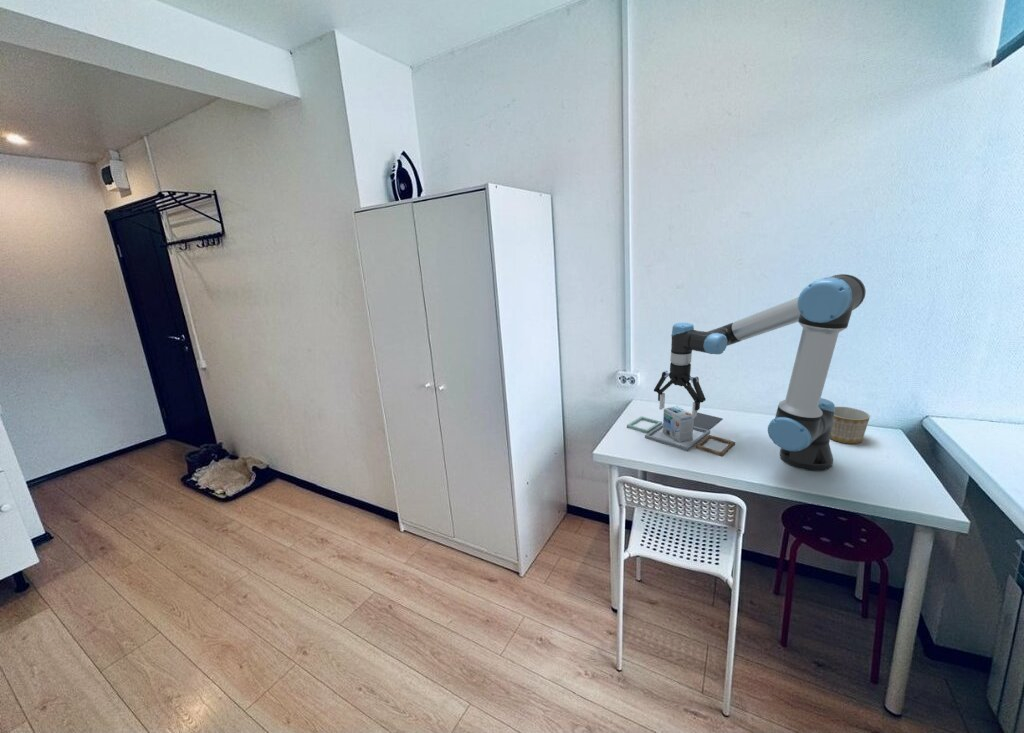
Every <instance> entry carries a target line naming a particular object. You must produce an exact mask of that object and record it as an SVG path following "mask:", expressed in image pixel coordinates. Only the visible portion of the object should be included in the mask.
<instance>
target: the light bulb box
mask: <svg viewBox="0 0 1024 733" xmlns="http://www.w3.org/2000/svg"><path fill="white" fill-rule="evenodd" d="M662 424H663V428H662V433H664V434H666V435H667V436H668V437H670V438H672V439H674V441H676V442H678V443H682V442H686V441H690V440H694V439H693V436H694V430H693V424H694V418H692V412H689V411H687V410H685V409H684V408H681V407H679V406H678V405H677V406H676V405H675V406H671V407H667V408H663V421H662Z"/></svg>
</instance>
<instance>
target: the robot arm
mask: <svg viewBox="0 0 1024 733" xmlns="http://www.w3.org/2000/svg"><path fill="white" fill-rule="evenodd" d="M865 286H866V285H864V283H863V282H862V280H861V279H859V278H858V277H856V276H854V275H851V274H844V273H841V274H835V275H832V276H828V277H822V278H819V279H816V280H813V281H812V282H811V283H809V284H808V285H806V287H804V288H803V289H802V291H801V292H800V294H798V295H799V296H797V297H795V298H793V299H790V300H788V301H785V302H782V303H779V304H777V305H775V306H772V307H769V308H767V309H764V310H761V311H759V312H756V313H754V314H751V315H749V316H747V317H744V318H741V319H739V320H736V321H734V322H731V323H728V324H726V325H723V326H720V327H718V328H714V329H712V330H709V331H705V330H704V331H703V330H702V331H701V330H696V329H695V328H694V324H693V323H690V322H677V323H674V324H673V325H672V329H671V334H670V336H671V349H670V361H669V362H670V364H669V371H668V370H664V371H662V373H661V377H660V379H659V381H658V382H657V384H655V385H656V386H655V387H654V388H653V392H656V394H657V401H658V402H659V410H661V411H662V410H664V409H665V403H666V402H665V401H666V393H665V391H666V390H667V389H668V388H670V387H671V386H672V385H673V384H674V386H679V387H683V388H684V389H685V390H686V391H687V392H688V394H689V396H690V397H691V398H692V400H693V402H692V409H691V410H692V411H691V414H692V418H695V417H696V416H697V413H698V411H700V409H701V403H704V402H705V401H706V399H707V398H706V396H705V394H704V392H703V389H702V387H701V385H700V381H699V380H700V379H699V377H698V376H691V370H692V364H691V363H692V356H693V355H692V354H693V353H692V352H693V351H694V352H699V353H706V354H710V355H721V354H723V353H724V351H725V352H726V350H727V347H728V346H731V345H733V344H736V343H739V342H742V341H745V340H748V339H751V338H754V337H757V336H760V335H763V334H766V333H769V332H772V331H775V330H778V329H781V328H784V327H786V326H790V325H792V324H795V323H799V325H800V326H801V327H802V330H801V335H800V339H799V343H798V347H797V352H796V356H795V359H794V364H793V367H792V371H791V376H790V379H789V384H788V388H787V391H786V396H785V399H783V400H782V401H779V403H778V404H777V409H776V413H775V416H774V418H772V420H770V423H769V424H768V425H767V434H768V437H769V438H770V440H771V441H773V444H774V445H776V446H777V447H778V448H780V449H779V450H780V451H779V457H780V459H781V460H782V461H783V462H784V463H785V464H787V465H790V466H792V467H794V468H797V469H801V470H805V471H812V472H823V471H827V470H830V469H832V468H833V464H834V456H833V454H832V450H831V449H832V448H831V446H830V442H831V441H830V440H831V439H830V436H831V430H832V423H833V417H834V413H835V407H836V405H835V403H834V402H833V401H831V400H829V399H826V398H823V397H822V395H823V390H824V387H825V383H826V379H827V377H828V372H829V369H830V366H831V362H832V358H833V355H834V352H835V348H836V344H837V340H838V338H839V333H840V332H843V331H844V330H846V329H848V326H849V323H850V320H851V316H852V313H853V311H855V310H856V309H857V308H859V307H860V306H861V304H863V302H864V299H865V297H866V292H867V291H866V287H865ZM667 377H669V379H670V380H669V381H668V382H667V383H666V384H665V385H663V384H664V382H666V379H667ZM690 381H691V382H690Z"/></svg>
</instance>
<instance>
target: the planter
mask: <svg viewBox="0 0 1024 733" xmlns="http://www.w3.org/2000/svg"><path fill="white" fill-rule="evenodd" d="M870 418H871V415H870V414H869V413H868V412H866V411H864V410H861V409H858V408H853V407H847V406H835V413H834V417H833V423H832V430H831V436H830V440H833V441H835V442H838V443H843V444H852V445H854V444H855V445H856V444H858V443H862V441H863V440H864V436H865V433H866V431H867V427H868V425H869V424H868V423H869V421H870Z"/></svg>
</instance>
